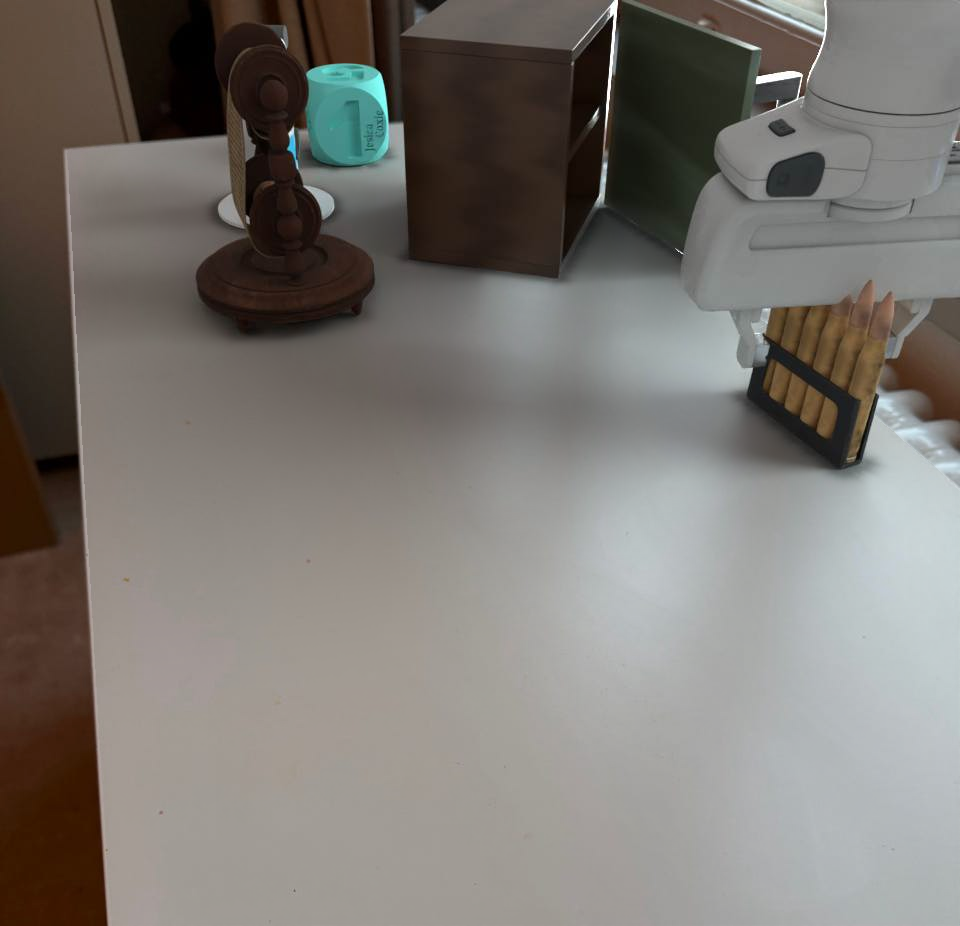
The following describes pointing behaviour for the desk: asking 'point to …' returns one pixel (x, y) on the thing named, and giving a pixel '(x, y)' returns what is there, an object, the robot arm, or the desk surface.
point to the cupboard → (505, 130)
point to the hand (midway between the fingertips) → (816, 359)
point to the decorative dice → (347, 114)
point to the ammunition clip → (825, 372)
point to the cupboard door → (676, 114)
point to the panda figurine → (324, 199)
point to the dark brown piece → (274, 199)
